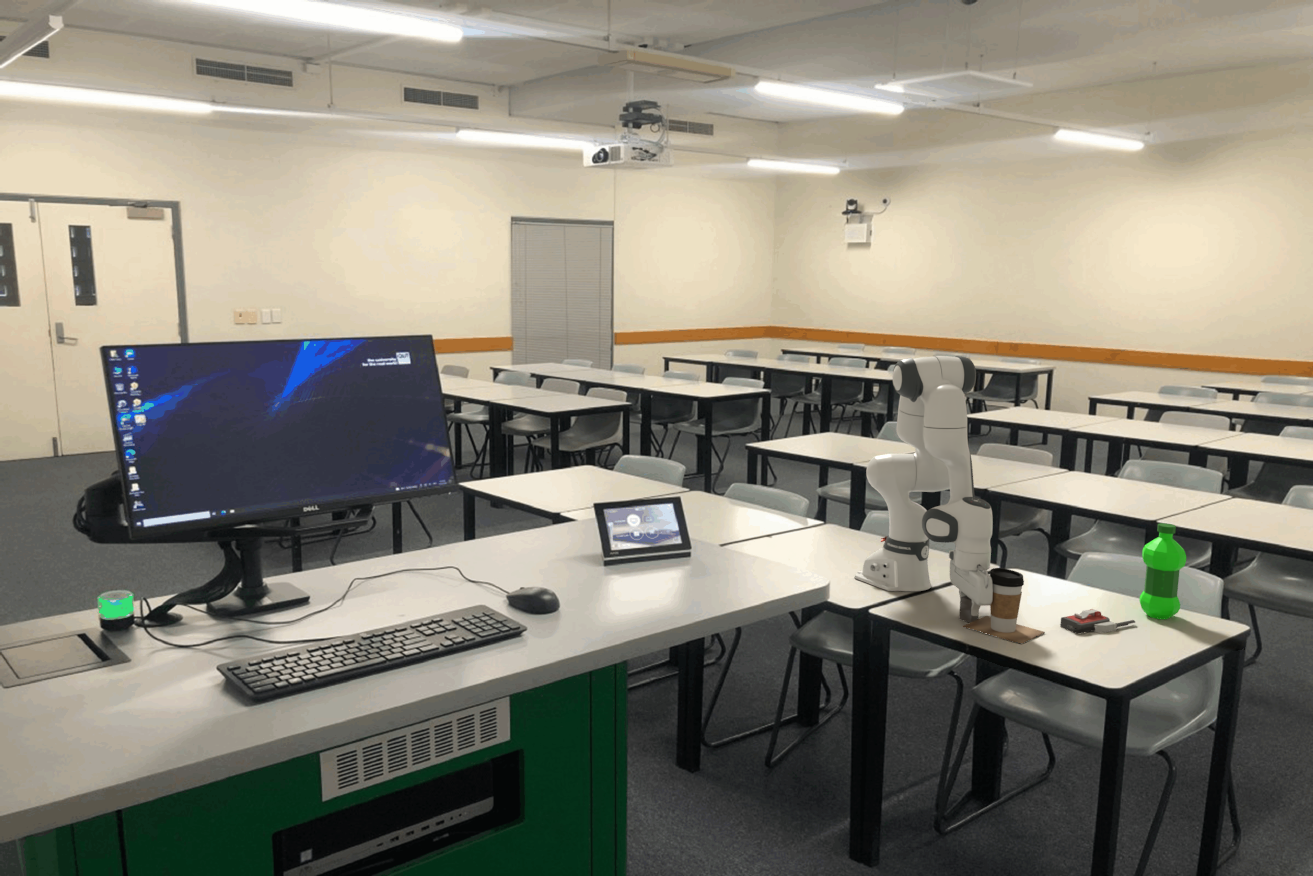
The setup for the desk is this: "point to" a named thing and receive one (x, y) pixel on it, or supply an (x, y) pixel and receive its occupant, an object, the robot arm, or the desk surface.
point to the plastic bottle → (1162, 574)
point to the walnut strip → (984, 624)
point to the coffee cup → (1005, 599)
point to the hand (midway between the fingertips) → (969, 611)
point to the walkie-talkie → (1090, 622)
